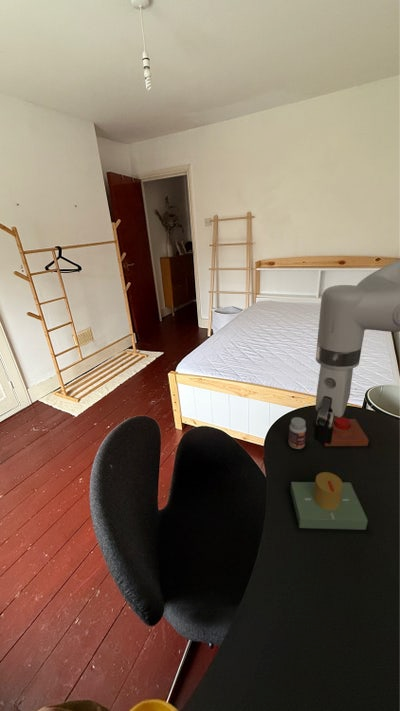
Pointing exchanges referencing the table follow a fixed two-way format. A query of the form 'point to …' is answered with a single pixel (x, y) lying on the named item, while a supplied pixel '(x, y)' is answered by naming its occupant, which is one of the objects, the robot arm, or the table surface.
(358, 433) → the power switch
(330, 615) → the table surface
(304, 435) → the pill bottle
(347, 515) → the control panel
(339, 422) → the power button
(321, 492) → the dial
